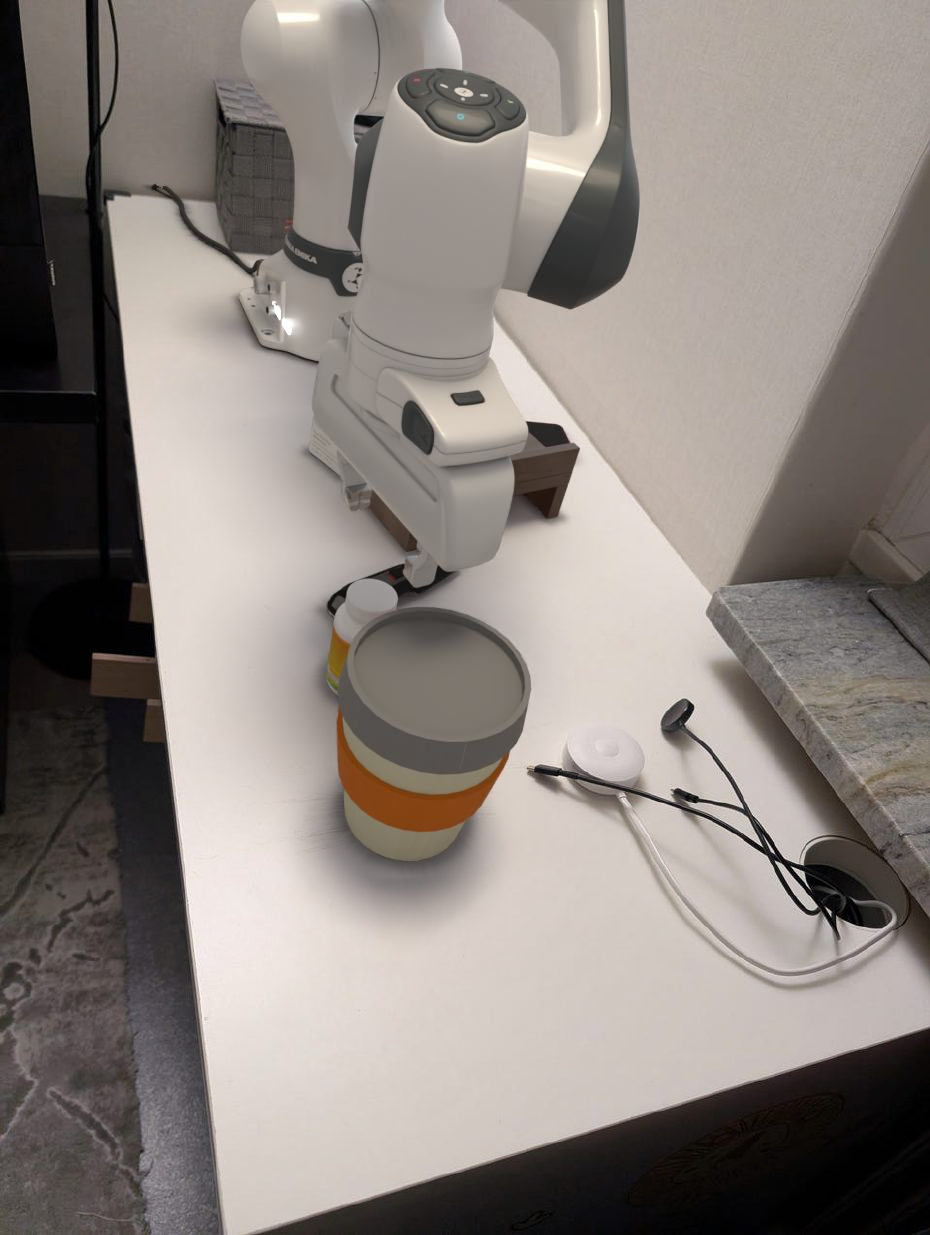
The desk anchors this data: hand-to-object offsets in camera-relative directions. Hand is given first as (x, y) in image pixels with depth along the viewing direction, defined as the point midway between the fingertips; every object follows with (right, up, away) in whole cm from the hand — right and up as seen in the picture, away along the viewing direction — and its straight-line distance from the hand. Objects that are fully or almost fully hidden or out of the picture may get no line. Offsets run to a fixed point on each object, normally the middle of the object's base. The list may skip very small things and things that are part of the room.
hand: (384, 541), depth 66 cm
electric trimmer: (-1, -3, +20) cm, 20 cm away
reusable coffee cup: (+1, -20, +1) cm, 20 cm away
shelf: (+5, +7, +33) cm, 34 cm away
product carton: (-8, +12, +35) cm, 38 cm away
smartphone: (+12, +16, +45) cm, 49 cm away
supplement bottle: (-3, -11, +10) cm, 15 cm away
